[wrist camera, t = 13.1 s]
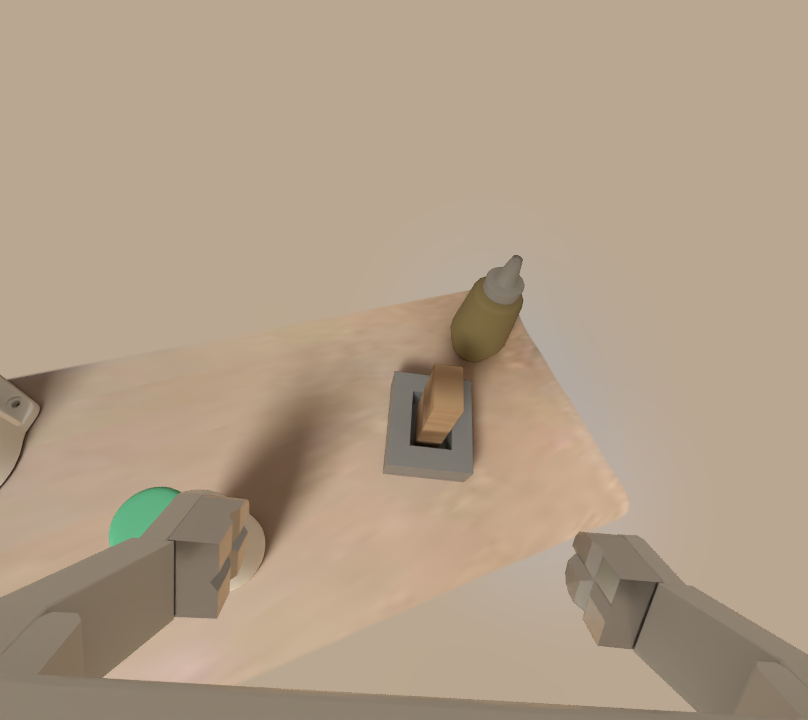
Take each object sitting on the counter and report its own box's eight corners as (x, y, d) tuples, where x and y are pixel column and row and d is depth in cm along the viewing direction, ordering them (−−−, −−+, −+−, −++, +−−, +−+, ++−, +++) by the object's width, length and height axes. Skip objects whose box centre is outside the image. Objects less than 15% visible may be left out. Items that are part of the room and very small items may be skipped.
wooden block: (437, 448, 49) (463, 411, 39) (414, 446, 49) (433, 407, 38) (438, 411, 52) (463, 367, 41) (416, 408, 51) (435, 363, 41)
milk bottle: (249, 498, 44) (191, 440, 27) (278, 563, 41) (235, 545, 24) (177, 538, 41) (61, 501, 24) (203, 611, 38) (94, 628, 21)
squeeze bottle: (472, 315, 62) (516, 224, 46) (508, 352, 59) (567, 268, 44) (433, 339, 58) (466, 249, 43) (469, 379, 56) (519, 298, 40)
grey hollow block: (463, 482, 48) (473, 473, 45) (382, 473, 47) (386, 464, 44) (462, 393, 54) (471, 380, 51) (391, 384, 54) (394, 371, 50)
